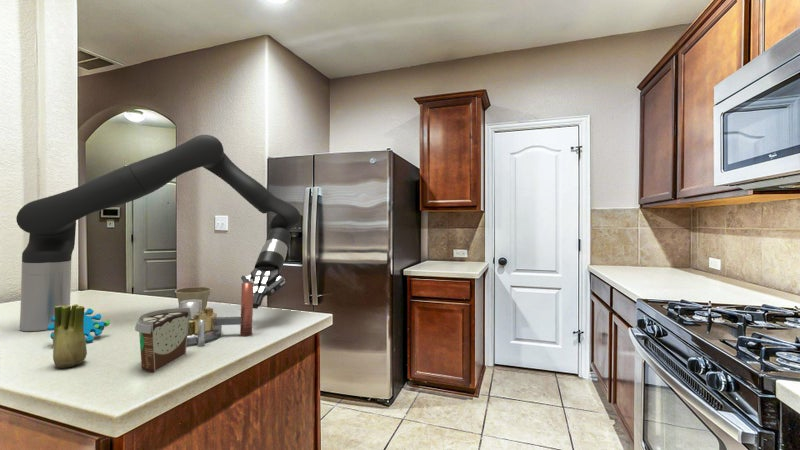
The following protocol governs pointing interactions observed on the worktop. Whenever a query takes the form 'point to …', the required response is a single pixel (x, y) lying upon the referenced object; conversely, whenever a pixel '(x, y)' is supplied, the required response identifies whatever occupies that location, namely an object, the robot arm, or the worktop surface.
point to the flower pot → (194, 294)
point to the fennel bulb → (69, 336)
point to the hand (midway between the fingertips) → (253, 307)
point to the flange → (199, 325)
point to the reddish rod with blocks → (242, 320)
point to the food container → (162, 337)
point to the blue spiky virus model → (87, 325)
